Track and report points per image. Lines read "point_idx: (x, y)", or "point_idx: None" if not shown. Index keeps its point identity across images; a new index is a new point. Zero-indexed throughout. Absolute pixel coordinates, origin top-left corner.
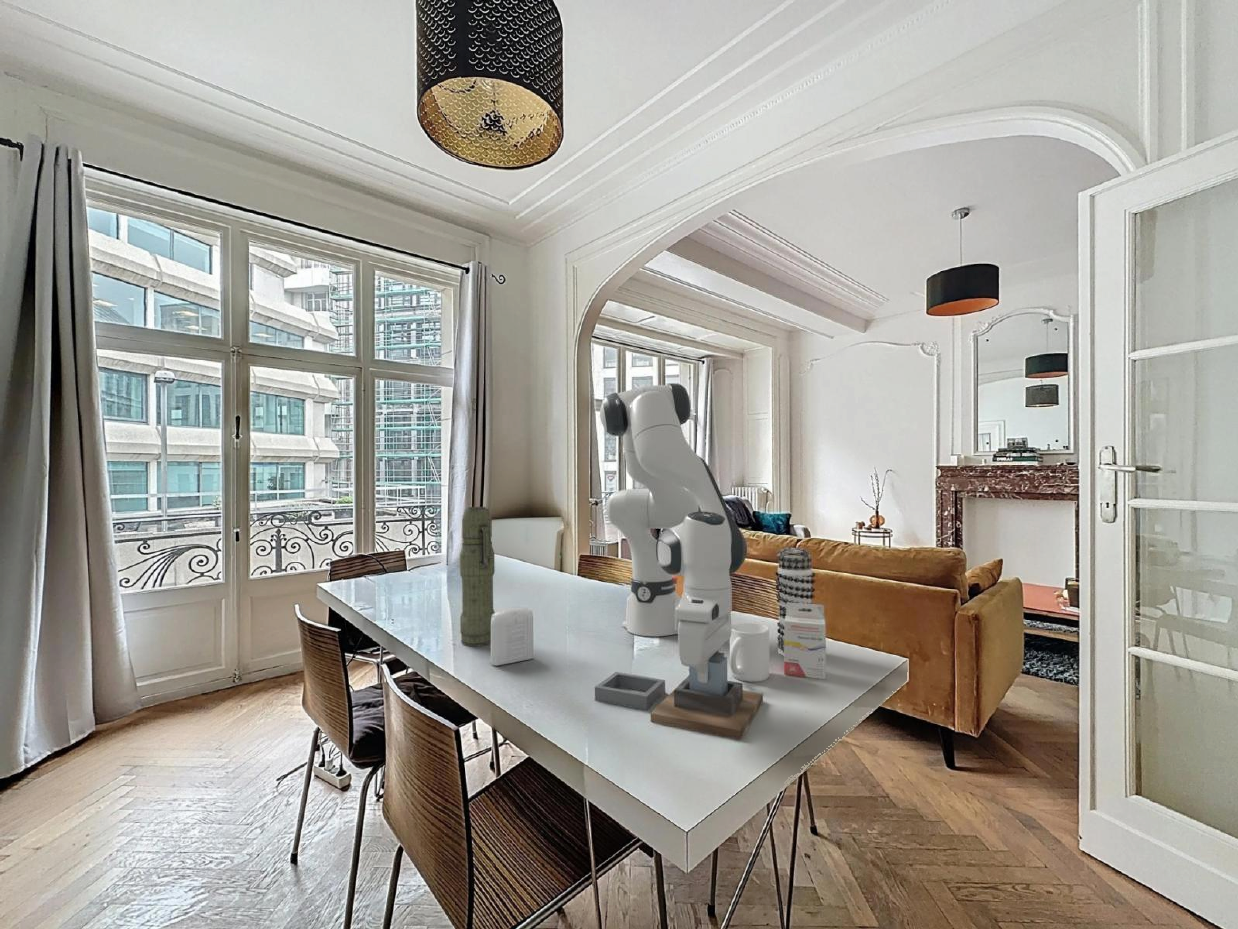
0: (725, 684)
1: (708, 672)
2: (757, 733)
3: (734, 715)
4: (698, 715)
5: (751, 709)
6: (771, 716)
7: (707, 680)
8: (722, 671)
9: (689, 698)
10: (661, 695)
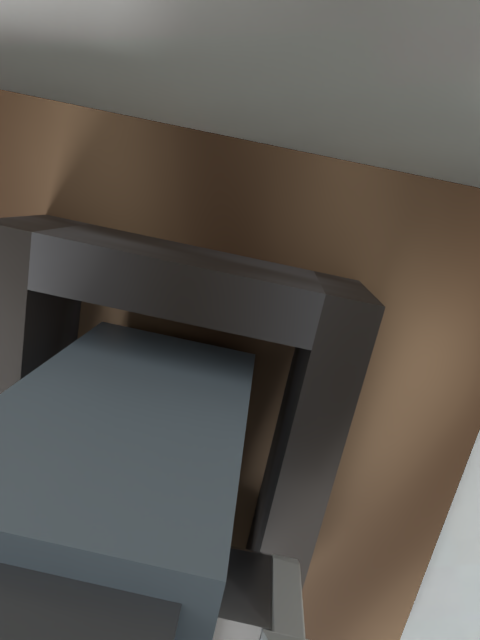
0: (117, 369)
1: (258, 620)
2: (423, 100)
3: (327, 256)
4: (368, 467)
5: (204, 142)
6: (148, 11)
7: (298, 567)
8: (174, 474)
9: None
10: None
